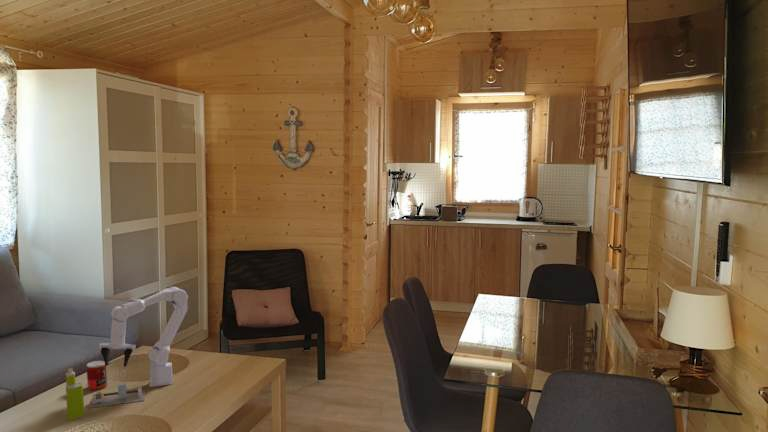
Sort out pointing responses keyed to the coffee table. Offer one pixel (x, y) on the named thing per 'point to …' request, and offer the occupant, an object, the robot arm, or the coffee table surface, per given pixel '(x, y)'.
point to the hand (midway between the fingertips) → (116, 365)
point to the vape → (74, 396)
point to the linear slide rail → (116, 398)
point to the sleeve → (122, 390)
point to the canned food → (96, 375)
